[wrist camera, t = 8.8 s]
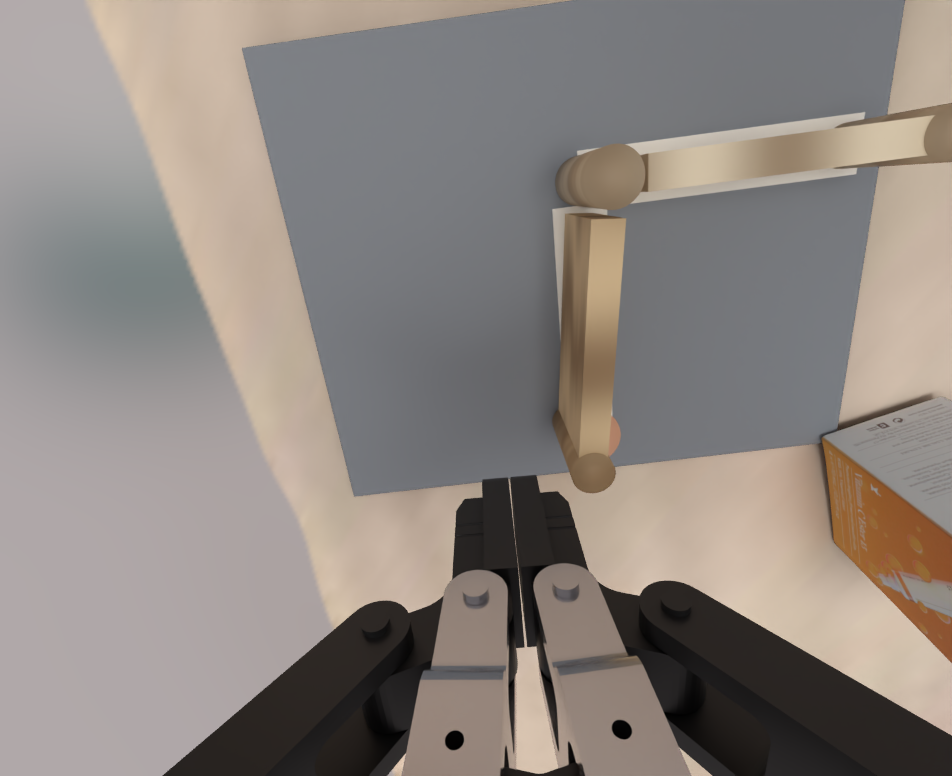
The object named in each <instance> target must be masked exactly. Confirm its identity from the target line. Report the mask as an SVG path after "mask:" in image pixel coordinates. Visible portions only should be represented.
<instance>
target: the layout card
mask: <svg viewBox="0 0 952 776" xmlns="http://www.w3.org/2000/svg"><path fill="white" fill-rule="evenodd" d="M904 4H905V0H572V1H565V2H558V3H551V4H544V5H538V6H531V7H524V8H517V9H510V10H503V11H496V12H489V13H482V14H475V15H468V16H461V17H454V18H447V19H440V20H433V21H427V22H420V23H413V24H406V25H399V26H392V27H385V28H378V29H371V30H364V31H357V32H350V33H343V34H336V35H329V36H322V37H316V38H309V39H302V40H295V41H288V42H281V43H274V44H267V45H260V46H253V47H246V48H242V51H243V55H244V59H245V63H246V67H247V71H248V75H249V79H250V83H251V87H252V91H253V95H254V99H255V103H256V107H257V111H258V115H259V119H260V123H261V127H262V131H263V135H264V139H265V143H266V147H267V151H268V155H269V159H270V163H271V167H272V171H273V175H274V179H275V183H276V187H277V191H278V195H279V199H280V203H281V207H282V210H283V214H284V218H285V222H286V226H287V230H288V234H289V238H290V242H291V246H292V250H293V254H294V258H295V262H296V266H297V270H298V274H299V278H300V282H301V286H302V290H303V294H304V298H305V302H306V306H307V310H308V314H309V318H310V322H311V326H312V330H313V334H314V338H315V342H316V346H317V350H318V354H319V358H320V362H321V366H322V370H323V374H324V378H325V382H326V386H327V390H328V394H329V398H330V402H331V406H332V410H333V414H334V418H335V422H336V426H337V430H338V434H339V438H340V442H341V446H342V450H343V454H344V458H345V462H346V466H347V470H348V474H349V478H350V482H351V486H352V490H353V494H354V496H363V495H372V494H380V493H389V492H398V491H407V490H416V489H424V488H433V487H442V486H451V485H459V484H468V483H477V482H482V479H493V478H505V477H508V479H510V477H516V476H528V475H536V476H538V475H547V474H556V473H564V472H569V469H568V466H567V464H566V461H565V458H564V455H563V453H562V450H561V447H560V444H559V442H558V439H557V436H556V433H555V430H554V428H553V424H552V419H553V416H554V414H555V412H556V411H557V410H558V409H559V380H560V350H561V320H562V289H563V259H564V229H565V214H571V213H597V214H603V215H609V216H615V217H621V218H626V228H625V241H624V254H623V267H622V281H621V294H620V307H619V320H618V333H617V347H616V360H615V373H614V386H613V399H612V413H611V426H610V439H609V452H608V455H609V457H610V459H611V461H612V463H613V465H614V467H617V466H626V465H634V464H643V463H652V462H661V461H669V460H678V459H687V458H696V457H704V456H713V455H722V454H731V453H739V452H748V451H757V450H766V449H774V448H783V447H792V446H801V445H809V444H818V443H822V437H823V436H825V435H827V434H830V433H833V432H836V431H837V427H838V421H839V415H840V408H841V402H842V396H843V389H844V383H845V377H846V370H847V364H848V358H849V351H850V345H851V339H852V332H853V326H854V320H855V313H856V307H857V301H858V294H859V288H860V282H861V276H862V269H863V263H864V257H865V250H866V244H867V238H868V231H869V225H870V219H871V212H872V206H873V200H874V193H875V187H876V181H877V174H878V168H879V167H863V168H847V169H834V168H827V169H819V170H811V171H804V172H796V173H789V174H781V175H773V176H766V177H758V178H750V179H743V180H735V181H728V182H720V183H712V184H705V185H697V186H690V187H682V188H674V189H667V190H659V191H652V192H640V194H639V195H638V196H637V198H636V199H635V200H634V201H633V202H632V203H630V204H629V205H627V206H626V207H624V208H621V209H617V210H605V209H597V208H589V207H581V206H573V205H570V204H567V203H565V202H564V201H563V200H562V199H561V198H560V197H559V195H558V193H557V191H556V186H555V179H556V174H557V172H558V170H559V168H560V166H561V165H562V164H563V163H564V162H565V161H566V160H568V159H570V158H572V157H575V156H578V155H581V154H584V153H587V152H589V151H592V150H595V149H598V148H601V147H604V146H607V145H610V144H625V145H628V146H630V147H632V148H633V149H635V150H636V151H637V152H638V153H639V155H643V154H648V153H655V152H663V151H670V150H678V149H685V148H693V147H700V146H707V145H715V144H722V143H730V142H737V141H745V140H752V139H760V138H767V137H775V136H782V135H790V134H797V133H805V132H812V131H820V130H827V129H834V128H835V127H837V126H838V125H840V124H843V123H846V122H852V121H857V120H863V119H868V118H873V117H879V116H884V115H887V111H888V105H889V98H890V92H891V86H892V80H893V73H894V67H895V61H896V54H897V48H898V42H899V35H900V29H901V23H902V16H903V10H904Z"/></svg>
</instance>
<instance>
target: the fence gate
mask: <svg viewBox="0 0 952 776" xmlns="http://www.w3.org/2000/svg"><path fill="white" fill-rule="evenodd" d="M625 228H626V218H621V217H615V216H609V215H603V214H597V213H571V214H565V229H564V259H563V289H562V320H561V350H560V380H559V409H558V410H557V411H556V412H555V414H554V416H553V419H552V424H553V428H554V430H555V433H556V436H557V439H558V442H559V444H560V447H561V450H562V453H563V455H564V458H565V461H566V464H567V466H568V469H569V472H570V475H571V477H572V480H573V483H574V485H575V486H576V487H577V488H578V489H579V490H581V491H583V492H586V493H597V492H601V491H603V490H605V489H606V488H608V487H609V486H610V485H611V484H612V482H613V481H614V478H615V474H616V471H615V467H614V465H613V463H612V461H611V459H610V457H609V455H608V452H609V439H610V426H611V413H612V399H613V386H614V373H615V360H616V347H617V333H618V320H619V307H620V294H621V281H622V267H623V254H624V241H625Z"/></svg>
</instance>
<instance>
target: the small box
mask: <svg viewBox="0 0 952 776" xmlns="http://www.w3.org/2000/svg"><path fill="white" fill-rule="evenodd" d="M822 443H823V448H824V453H825V460H826V467H827V476H828V485H829V493H830V502H831V514H832V525H833V536H834V542H835V544H836V545H837V546H838V547H839V548H840V549H841V550H842V551H843V552H844V553H845V554H846V555H847V556H848V557H849V558H850V559H851V560H852V561H853V562H854V563H855V564H856V565H857V566H858V567H859V569H860V570H861V571H862V572H863V573H864V574H865V575H866V576H867V577H868V578H869V579H870V580H871V581H872V582H873V583H874V584H875V585H876V586H877V587H878V588H879V589H880V590H881V591H882V592H883V593H884V594H885V595H886V596H887V597H888V598H889V599H890V600H891V601H892V602H893V603H894V604H895V605H896V606H897V607H898V608H899V609H900V610H901V611H902V613H903V614H904V615H905V616H906V617H907V618H908V619H909V620H910V621H911V622H912V623H913V624H914V625H915V626H916V627H917V628H918V629H919V630H920V631H921V632H922V633H923V634H924V635H925V636H926V637H927V638H928V639H929V640H930V641H931V642H932V643H933V644H934V645H935V646H936V647H937V648H938V649H939V650H940V651H941V652H942V653H943V654H944V656H945V657H946V658H947V659H948V660H949V661H950V662H951V663H952V401H951V400H948V399H946V398H945V397H938V398H935V399H932V400H929V401H925V402H922V403H919V404H916V405H913V406H910V407H907V408H904V409H901V410H898V411H895V412H892V413H889V414H886V415H883V416H880V417H877V418H874V419H871V420H868V421H866V422H862V423H859V424H856V425H854V426H851V427H848V428H845V429H842V430H839V431H836V432H833V433H830V434H827V435H825V436H823V437H822Z"/></svg>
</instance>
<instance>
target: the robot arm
mask: <svg viewBox="0 0 952 776" xmlns="http://www.w3.org/2000/svg"><path fill="white" fill-rule="evenodd" d="M510 482H511V494H512V506H513V518H514V527H513V518H512V509H511V500H510V491H509V482H508V477H505V478H493V479H482V493H483V498H472V499H464V501H463V502H462V504H461V505H460V507H459V508H458V510H457V511H456V527H455V543H454V560H453V577H452V580H451V581H450V583H449V584H448V585H447V587H446V589H445V592H444V596H443V597H442V598H441V599H439V600H438V601H437V602H435V603H433V604H432V605H430V606H427V607H425V608H422V609H419V610H416V611H414V612H411V613H408V612H407V610H406V609H405V608H404V607H403V606H402V605H400V604H398V603H396V602H393V601H377V602H373V603H370V604H368V605H365V606H363V607H362V608H360V609H358V610H357V611H356V612H354V613H353V614H352V615H351V616H350V617H349V618H347V619H346V620H345V621H344V622H343V623H341V624H340V625H339V626H338V627H337V628H336V629H334V630H333V631H332V632H331V633H330V634H329V635H327V636H326V637H325V638H324V639H323V640H321V641H320V642H319V643H318V644H317V645H316V646H314V647H313V648H312V649H311V650H310V651H309V652H307V653H306V654H305V655H304V656H303V657H302V658H300V659H299V660H298V661H297V662H296V663H294V664H293V665H292V666H291V667H290V668H289V669H287V670H286V671H285V672H284V673H283V674H282V675H280V676H279V677H278V678H277V679H276V680H275V681H273V682H272V683H271V684H270V685H269V686H267V687H266V688H265V689H264V690H263V691H262V692H260V693H259V694H258V695H257V696H256V697H254V698H253V699H252V700H251V701H250V702H249V703H247V704H246V705H245V706H244V707H243V708H242V709H241V710H239V711H238V712H237V713H236V714H234V715H233V716H232V717H231V718H230V719H229V720H227V721H226V722H225V723H224V724H223V725H222V726H220V727H219V728H218V729H217V730H216V731H215V732H213V733H212V734H211V735H210V736H209V737H207V738H206V739H205V740H204V741H203V742H202V743H201V744H199V745H198V746H197V747H196V748H195V749H193V750H192V751H191V752H190V753H189V754H188V755H186V756H185V757H184V758H183V759H182V760H181V761H179V762H178V763H177V764H176V765H175V766H173V767H172V768H171V769H170V770H169V771H167V772H166V773H165V774H164V775H163V776H387V775H388V774H389V772H390V771H391V770H392V769H393V768H394V767H395V765H396V764H397V763H398V762H399V760H400V759H401V758H402V757H403V756H404V754H405V753H406V756H405V761H404V766H403V772H402V776H691V774H690V771H689V769H688V767H687V765H686V762H685V760H684V758H683V755H682V753H681V751H680V749H679V747H680V748H681V749H682V750H683V751H684V752H685V753H687V754H688V755H689V756H690V757H691V758H692V759H694V760H695V761H696V762H697V763H698V764H700V765H701V766H702V767H703V768H704V769H705V770H707V771H708V772H709V773H710V774H711V775H712V776H952V736H951V735H950V734H948V733H946V732H944V731H943V730H941V729H939V728H937V727H936V726H934V725H932V724H930V723H929V722H927V721H925V720H924V719H922V718H920V717H918V716H917V715H915V714H913V713H911V712H910V711H908V710H906V709H904V708H903V707H901V706H899V705H897V704H896V703H894V702H892V701H890V700H889V699H887V698H885V697H883V696H882V695H880V694H878V693H876V692H875V691H873V690H871V689H870V688H868V687H866V686H864V685H863V684H861V683H859V682H857V681H856V680H854V679H852V678H850V677H849V676H847V675H845V674H843V673H842V672H840V671H838V670H836V669H835V668H833V667H831V666H829V665H828V664H826V663H824V662H822V661H821V660H819V659H817V658H815V657H814V656H812V655H810V654H809V653H807V652H805V651H803V650H802V649H800V648H798V647H796V646H795V645H793V644H791V643H789V642H788V641H786V640H784V639H782V638H781V637H779V636H777V635H775V634H774V633H772V632H770V631H768V630H767V629H765V628H763V627H761V626H760V625H758V624H756V623H755V622H753V621H751V620H749V619H748V618H746V617H744V616H742V615H741V614H739V613H737V612H735V611H734V610H732V609H730V608H728V607H727V606H725V605H723V604H721V603H720V602H718V601H716V600H714V599H713V598H711V597H709V596H707V595H706V594H704V593H702V592H700V591H699V590H697V589H695V588H693V587H691V586H689V585H687V584H684V583H681V582H676V581H659V582H655V583H652V584H650V585H648V586H647V587H646V588H645V589H644V590H643V591H642V593H641V594H640V596H637V595H632V594H626V593H621V592H617V591H614V590H611V589H609V588H607V587H605V586H603V585H602V584H600V583H599V582H597V580H596V578H595V577H594V576H593V574H591V573H590V572H589V570H588V568H587V564H586V561H585V557H584V554H583V551H582V547H581V544H580V540H579V537H578V534H577V530H576V528H575V523H574V520H573V518H572V513H571V510H570V506H569V503H568V501H567V500H566V499H565V498H564V497H563V496H562V495H560V494H559V493H558V492H557V491H556V492H544V493H540V490H539V486H538V481H537V476H536V475H528V476H516V477H510ZM514 530H515V536H514ZM515 540H516V545H515ZM516 550H517V554H516ZM517 559H518V563H517ZM518 567H519V574H518ZM519 576H520V585H521V594H522V603H523V612H524V621H525V630H526V639H527V647H534V646H537V654H538V661H539V676H540V683H541V688H542V692H543V697H544V702H545V706H546V711H547V716H548V721H549V725H550V730H551V735H552V739H553V744H554V749H555V753H556V758H557V763H558V769H555V770H553V771H550V772H547V773H544V774H535V773H530V772H526V771H521V770H517V769H516V673H517V665H518V663H517V652H516V648H522V647H524V635H523V623H522V611H521V599H520V586H519Z"/></svg>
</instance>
